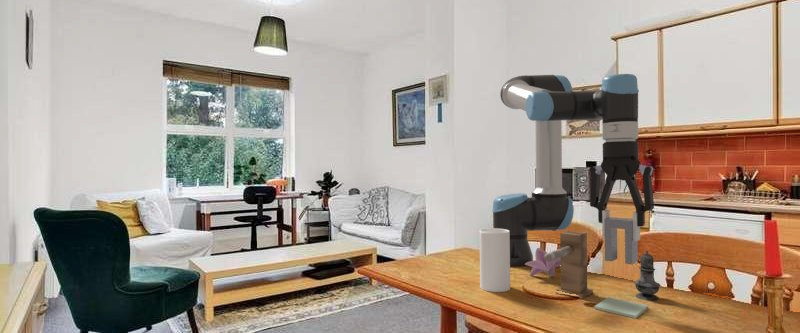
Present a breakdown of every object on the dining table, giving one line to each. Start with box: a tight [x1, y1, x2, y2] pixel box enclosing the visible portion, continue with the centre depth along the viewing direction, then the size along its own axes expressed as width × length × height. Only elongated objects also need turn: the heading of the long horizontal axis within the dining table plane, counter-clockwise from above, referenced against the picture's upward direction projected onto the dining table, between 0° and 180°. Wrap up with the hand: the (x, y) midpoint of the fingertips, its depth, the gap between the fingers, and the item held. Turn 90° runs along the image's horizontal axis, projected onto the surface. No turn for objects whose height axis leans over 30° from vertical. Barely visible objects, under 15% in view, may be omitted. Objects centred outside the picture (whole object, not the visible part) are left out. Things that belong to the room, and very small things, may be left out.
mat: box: [593, 296, 649, 319], centre depth 101 cm, size 9×9×1 cm
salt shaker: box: [633, 250, 662, 302], centre depth 109 cm, size 6×6×12 cm
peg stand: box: [544, 230, 594, 300], centre depth 109 cm, size 19×7×16 cm, turn 135°
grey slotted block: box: [604, 216, 639, 265], centre depth 101 cm, size 4×6×10 cm, turn 45°
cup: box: [479, 227, 511, 293], centre depth 119 cm, size 8×8×16 cm
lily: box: [524, 247, 561, 281], centre depth 126 cm, size 12×12×10 cm
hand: (621, 238), depth 101 cm, fingers closed on grey slotted block, 6 cm apart
